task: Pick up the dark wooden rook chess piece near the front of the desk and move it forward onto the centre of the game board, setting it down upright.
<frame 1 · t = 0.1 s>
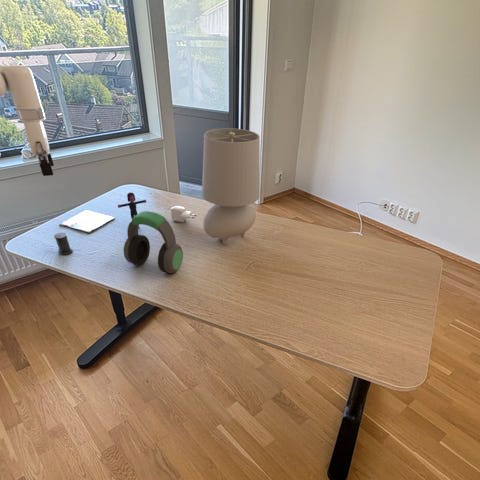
hand: (48, 170, 120), 27 cm above the table, tool pointing down, fingers open, 9 cm apart
figurine: (136, 227, 148), on the table
headphones: (155, 267, 125), on the table
board: (87, 222, 150), on the table
table lamp: (230, 240, 143), on the table
power adapter: (184, 221, 154), on the table
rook: (65, 252, 130), on the table
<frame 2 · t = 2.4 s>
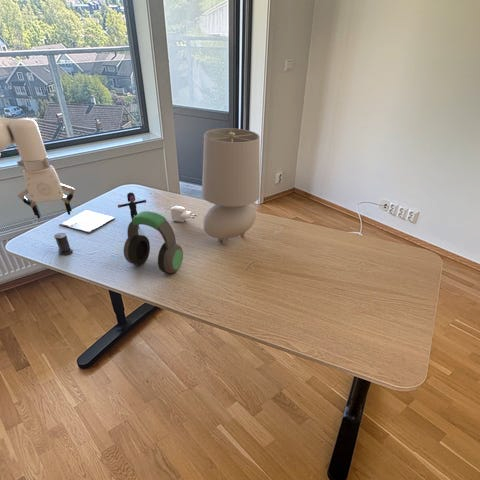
hand: (54, 215, 121), 15 cm above the table, tool pointing down, fingers open, 9 cm apart
nothing on the table moved.
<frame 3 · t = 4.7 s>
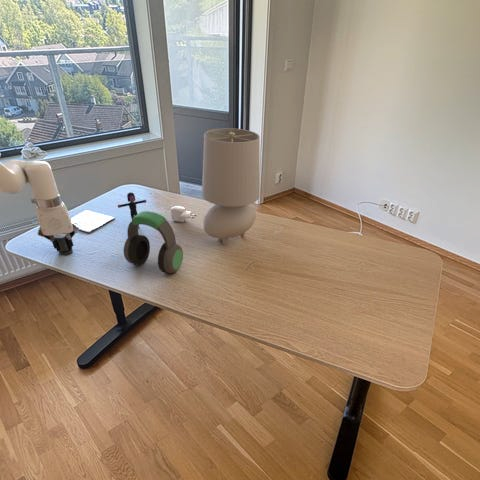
hand: (64, 248, 129), 2 cm above the table, tool pointing down, fingers closed on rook, 3 cm apart
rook: (65, 252, 130), on the table, touching gripper
everything else where it was.
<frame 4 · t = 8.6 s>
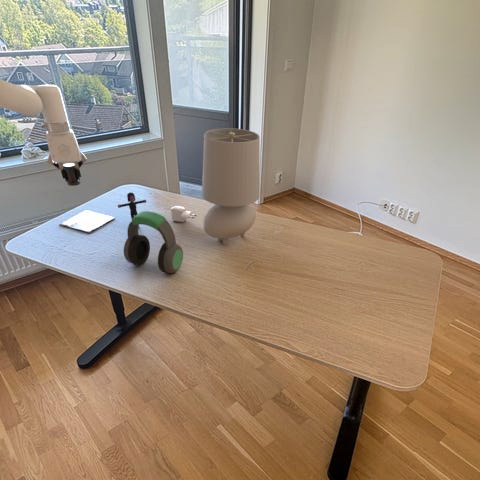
hand: (72, 179, 134), 19 cm above the table, tool pointing down, fingers closed on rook, 3 cm apart
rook: (73, 183, 135), point 18 cm above the table, touching gripper
everything else where it was.
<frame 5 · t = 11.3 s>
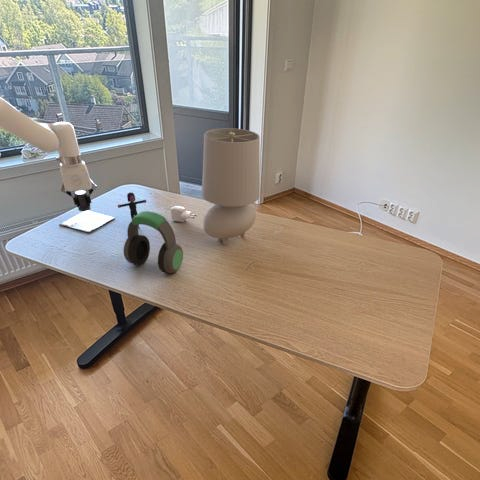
hand: (83, 205, 145), 8 cm above the table, tool pointing down, fingers closed on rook, 3 cm apart
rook: (84, 208, 146), point 6 cm above the table, touching gripper
everything else where it was.
when the fingers open (2 cm above the table, at t = 12.8 s): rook stays where it is, resting on board.
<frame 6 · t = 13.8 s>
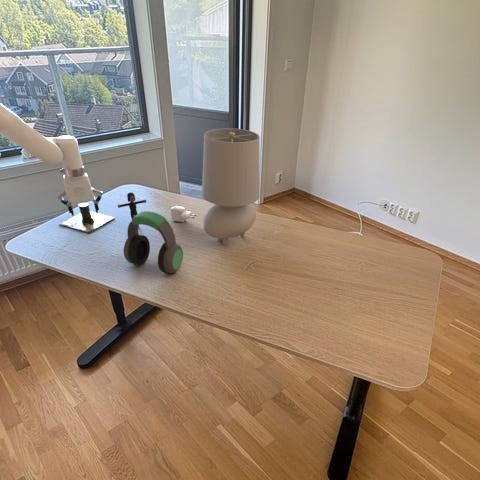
hand: (85, 213, 147), 4 cm above the table, tool pointing down, fingers open, 9 cm apart
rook: (87, 220, 149), point 1 cm above the table, touching board
everything else where it was.
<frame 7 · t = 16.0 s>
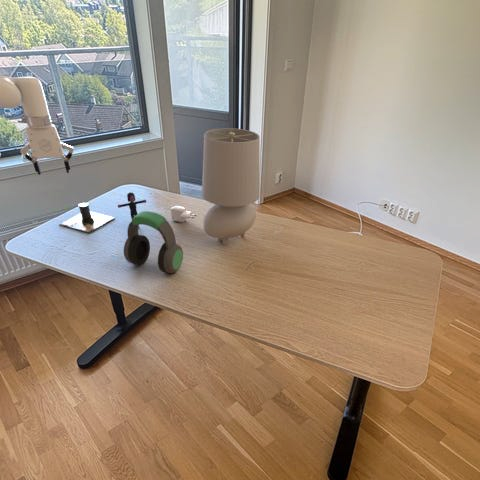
hand: (54, 172, 129), 23 cm above the table, tool pointing down, fingers open, 9 cm apart
nothing on the table moved.
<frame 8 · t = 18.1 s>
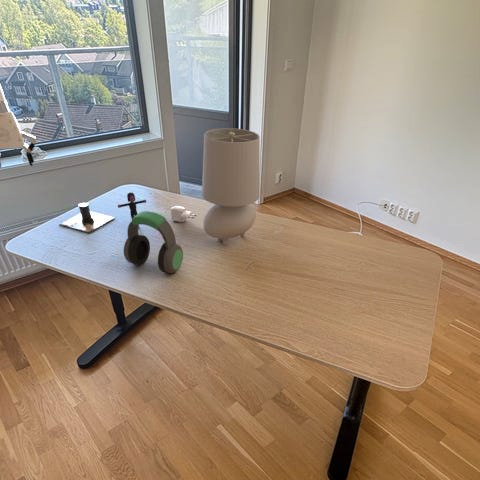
hand: (16, 165, 118), 28 cm above the table, tool pointing down, fingers open, 9 cm apart
nothing on the table moved.
at the end: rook 0.1 cm off-centre on the board, point 0.7 cm above the board's base; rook tilted 0°; the gripper is holding nothing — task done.
